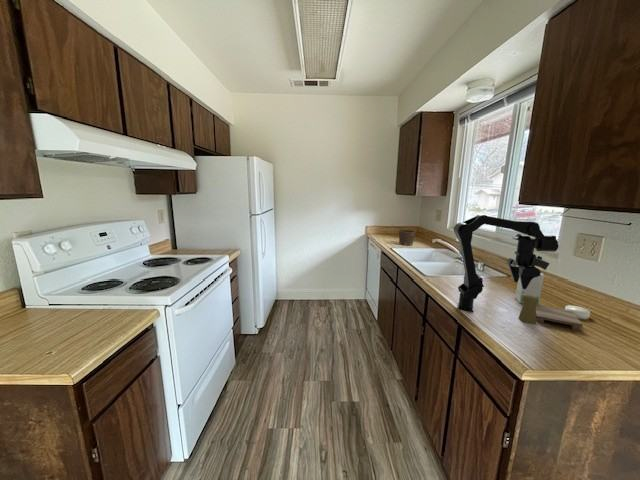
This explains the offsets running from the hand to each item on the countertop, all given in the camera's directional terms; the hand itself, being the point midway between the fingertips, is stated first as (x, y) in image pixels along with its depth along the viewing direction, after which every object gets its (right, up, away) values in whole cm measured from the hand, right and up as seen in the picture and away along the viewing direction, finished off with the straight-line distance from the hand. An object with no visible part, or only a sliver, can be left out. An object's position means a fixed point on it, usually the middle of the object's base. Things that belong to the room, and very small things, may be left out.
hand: (519, 285), depth 115 cm
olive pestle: (+1, -15, -3) cm, 15 cm away
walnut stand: (+13, -14, -2) cm, 19 cm away
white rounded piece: (+27, -14, +3) cm, 31 cm away
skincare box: (+16, -11, +17) cm, 26 cm away
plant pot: (-2, +13, +148) cm, 148 cm away
